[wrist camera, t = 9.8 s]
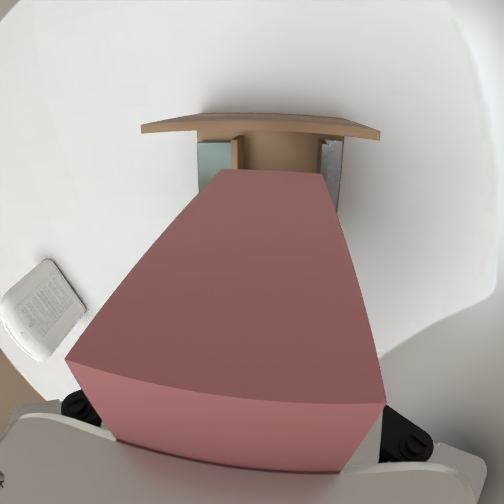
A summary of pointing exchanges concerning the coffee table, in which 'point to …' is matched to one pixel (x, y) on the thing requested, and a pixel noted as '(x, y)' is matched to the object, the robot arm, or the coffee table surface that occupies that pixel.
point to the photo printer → (40, 310)
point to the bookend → (330, 165)
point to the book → (239, 333)
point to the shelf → (260, 140)
